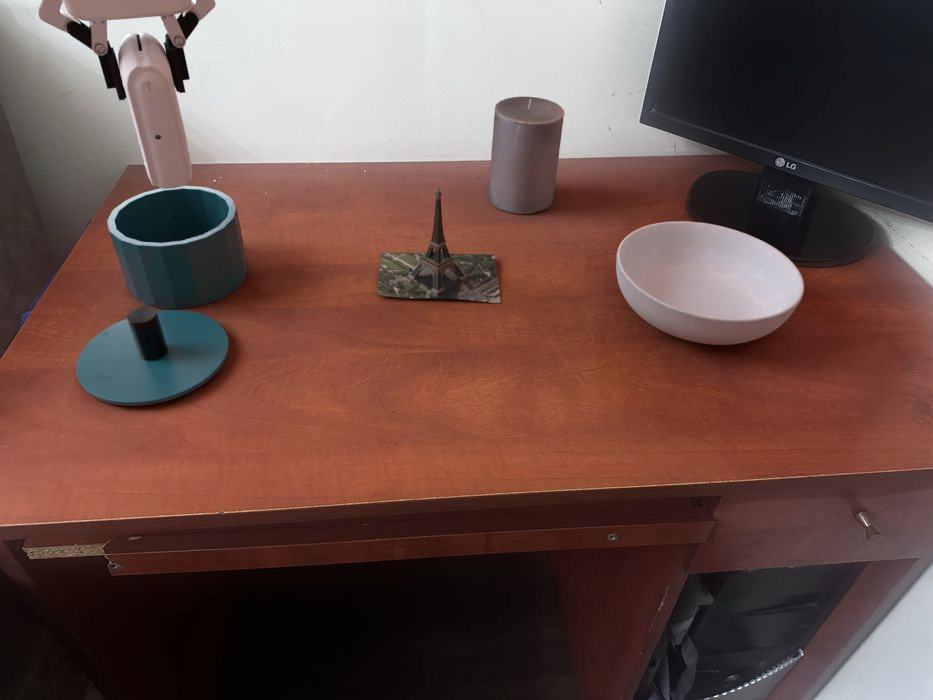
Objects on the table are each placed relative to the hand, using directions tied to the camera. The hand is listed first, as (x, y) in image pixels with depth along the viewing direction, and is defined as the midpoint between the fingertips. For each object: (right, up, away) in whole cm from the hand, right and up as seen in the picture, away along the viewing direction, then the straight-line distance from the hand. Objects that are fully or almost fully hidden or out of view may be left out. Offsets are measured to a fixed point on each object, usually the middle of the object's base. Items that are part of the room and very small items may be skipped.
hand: (150, 89), depth 66 cm
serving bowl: (+57, -20, +19) cm, 63 cm away
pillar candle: (+38, -2, +40) cm, 55 cm away
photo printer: (0, -6, +5) cm, 8 cm away
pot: (-5, -15, +21) cm, 26 cm away
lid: (-3, -25, +9) cm, 27 cm away
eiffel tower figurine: (+26, -15, +23) cm, 38 cm away
